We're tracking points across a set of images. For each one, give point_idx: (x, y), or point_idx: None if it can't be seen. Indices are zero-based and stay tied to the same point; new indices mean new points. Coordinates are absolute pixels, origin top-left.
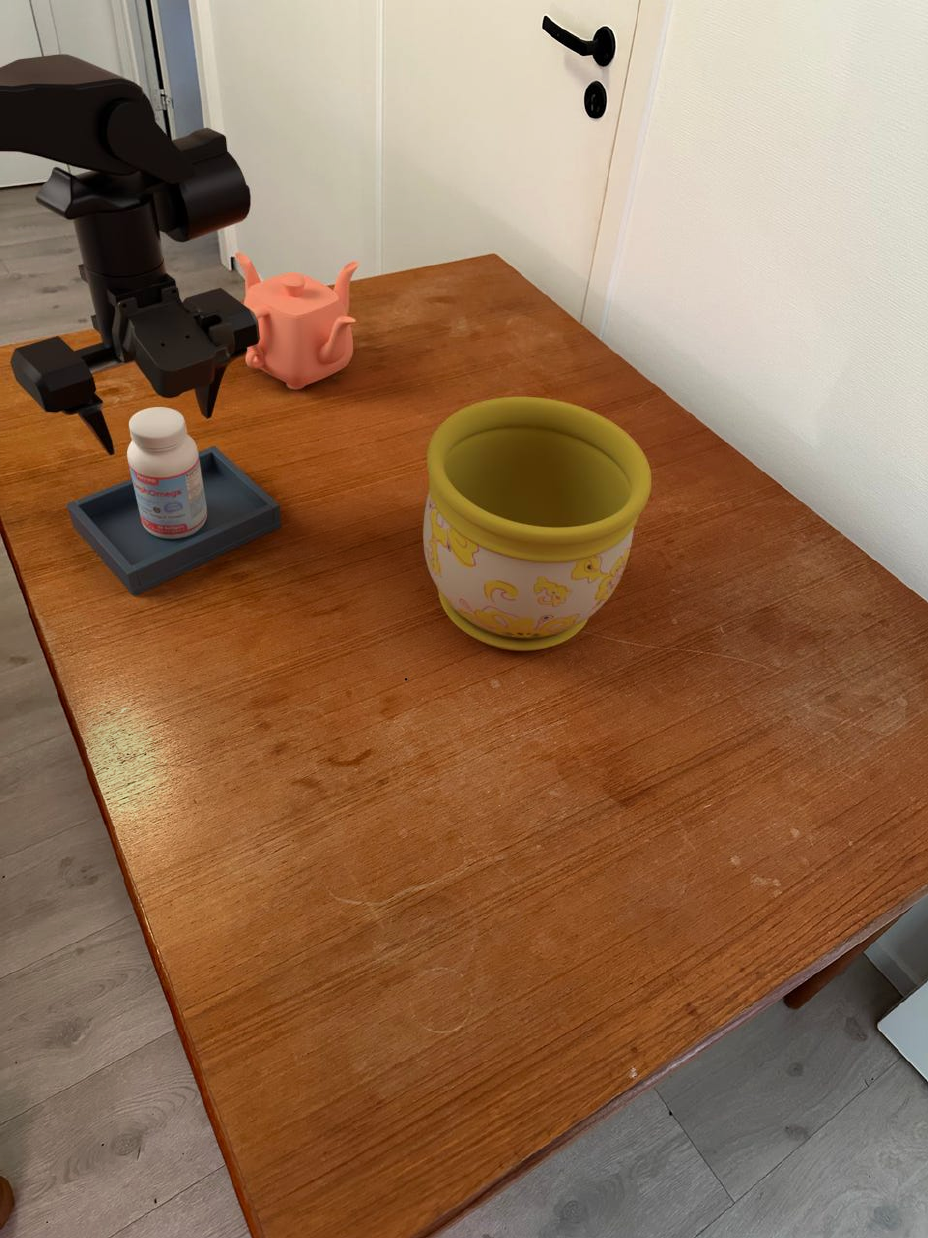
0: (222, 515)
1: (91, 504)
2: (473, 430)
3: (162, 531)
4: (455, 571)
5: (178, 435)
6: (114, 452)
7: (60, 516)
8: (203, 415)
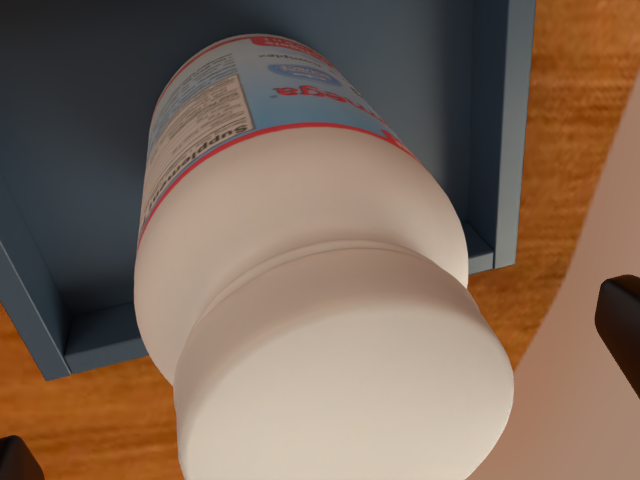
0: (101, 96)
1: None
2: None
3: (331, 64)
4: None
5: (267, 308)
6: (613, 284)
7: None
8: (35, 461)
